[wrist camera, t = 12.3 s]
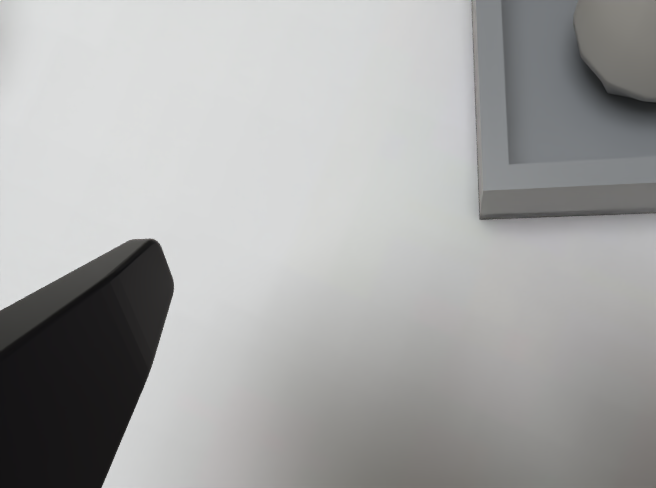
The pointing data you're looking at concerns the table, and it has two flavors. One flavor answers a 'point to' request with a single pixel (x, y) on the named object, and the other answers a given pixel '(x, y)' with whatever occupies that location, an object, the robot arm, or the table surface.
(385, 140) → the table surface
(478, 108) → the box
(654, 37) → the salt shaker
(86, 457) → the robot arm
